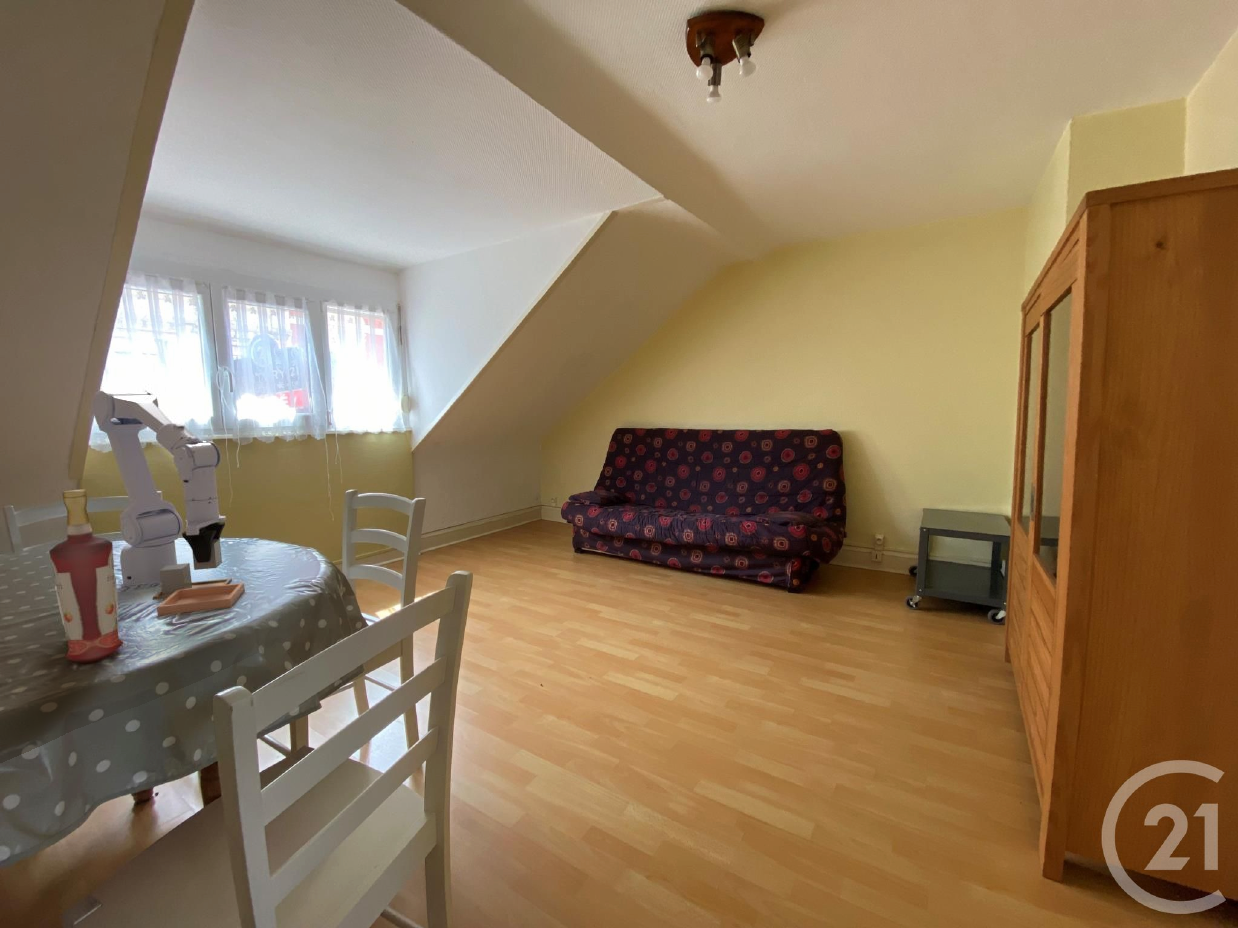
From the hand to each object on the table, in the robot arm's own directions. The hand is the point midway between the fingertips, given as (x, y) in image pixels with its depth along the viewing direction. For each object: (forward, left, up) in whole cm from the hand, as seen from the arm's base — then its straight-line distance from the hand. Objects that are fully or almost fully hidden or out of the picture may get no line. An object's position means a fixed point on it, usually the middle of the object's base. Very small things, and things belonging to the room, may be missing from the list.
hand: (207, 558), depth 121 cm
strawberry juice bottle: (-12, -19, -7) cm, 24 cm away
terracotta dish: (+2, -10, -7) cm, 12 cm away
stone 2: (0, 0, -2) cm, 2 cm away
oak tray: (-3, 0, -7) cm, 8 cm away
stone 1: (-6, 0, -7) cm, 9 cm away
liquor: (-7, -30, -7) cm, 32 cm away
